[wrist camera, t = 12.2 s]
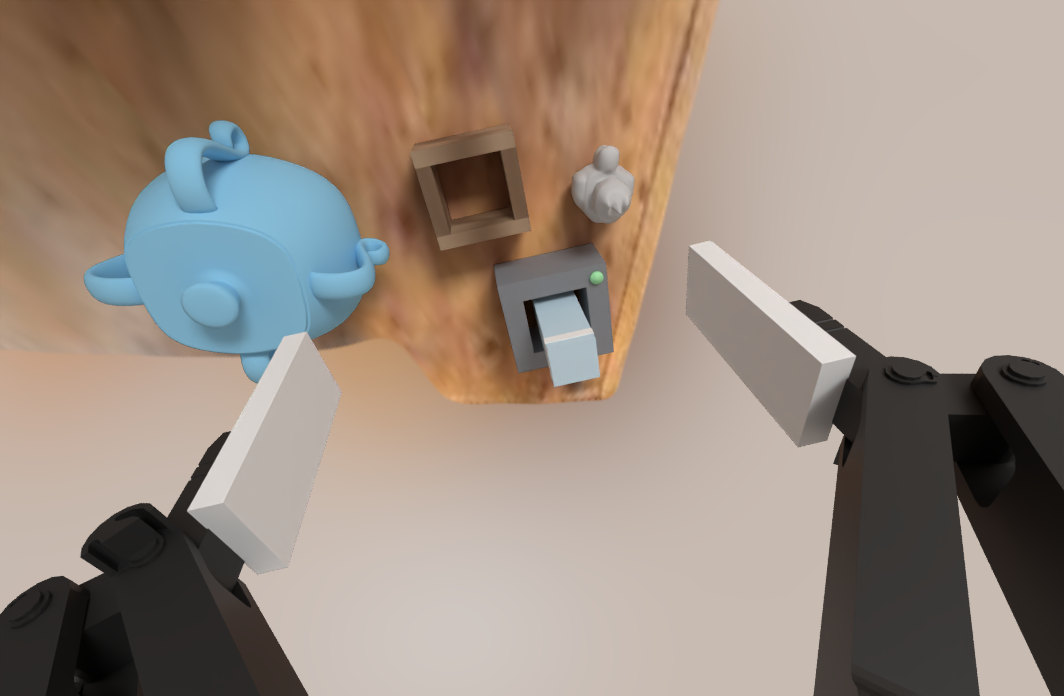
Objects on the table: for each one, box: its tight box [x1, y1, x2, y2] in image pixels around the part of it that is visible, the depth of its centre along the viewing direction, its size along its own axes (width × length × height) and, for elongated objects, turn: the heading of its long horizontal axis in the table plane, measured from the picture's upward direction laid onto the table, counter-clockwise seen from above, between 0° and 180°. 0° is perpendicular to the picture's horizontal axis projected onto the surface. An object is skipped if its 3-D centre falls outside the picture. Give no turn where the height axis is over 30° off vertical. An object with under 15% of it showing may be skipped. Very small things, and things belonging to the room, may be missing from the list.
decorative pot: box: [84, 120, 390, 383], centre depth 34 cm, size 16×16×14 cm
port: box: [494, 243, 614, 373], centre depth 44 cm, size 10×10×5 cm
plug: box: [532, 290, 600, 387], centre depth 41 cm, size 4×4×12 cm
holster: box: [410, 124, 531, 251], centre depth 37 cm, size 8×8×4 cm
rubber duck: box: [571, 145, 635, 224], centre depth 37 cm, size 5×7×8 cm
